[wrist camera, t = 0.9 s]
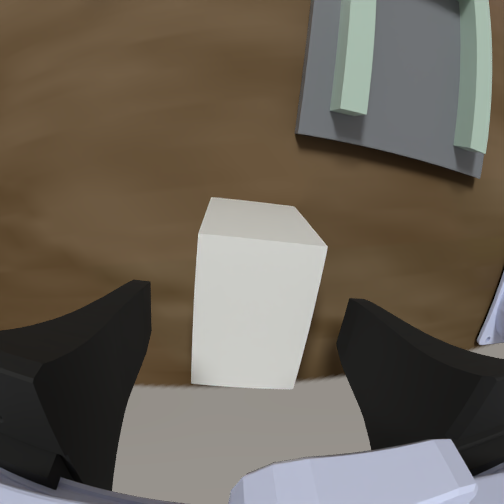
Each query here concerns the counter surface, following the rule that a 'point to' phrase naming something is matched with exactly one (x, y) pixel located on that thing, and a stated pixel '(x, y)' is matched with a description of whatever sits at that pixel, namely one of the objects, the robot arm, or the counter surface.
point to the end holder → (400, 78)
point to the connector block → (253, 294)
